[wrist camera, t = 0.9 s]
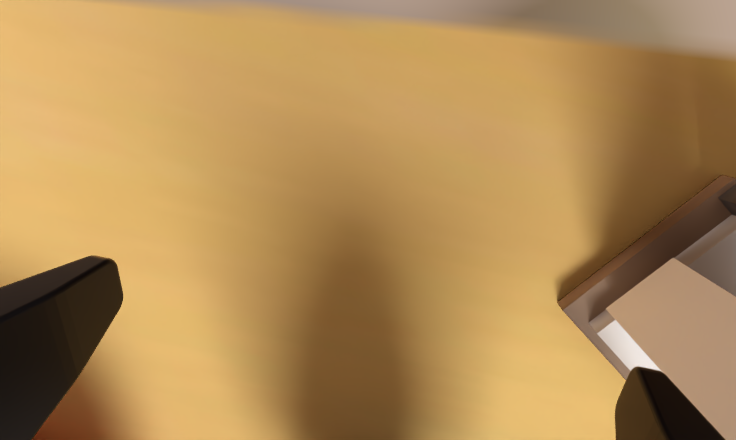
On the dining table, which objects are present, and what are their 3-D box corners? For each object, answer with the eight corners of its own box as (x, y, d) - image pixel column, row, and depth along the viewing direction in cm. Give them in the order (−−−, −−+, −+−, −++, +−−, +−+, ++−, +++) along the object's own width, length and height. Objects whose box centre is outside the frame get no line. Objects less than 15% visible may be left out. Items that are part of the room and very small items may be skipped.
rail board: (635, 388, 27) (683, 452, 22) (557, 302, 27) (589, 349, 22) (801, 270, 25) (893, 312, 20) (721, 174, 25) (797, 194, 20)
